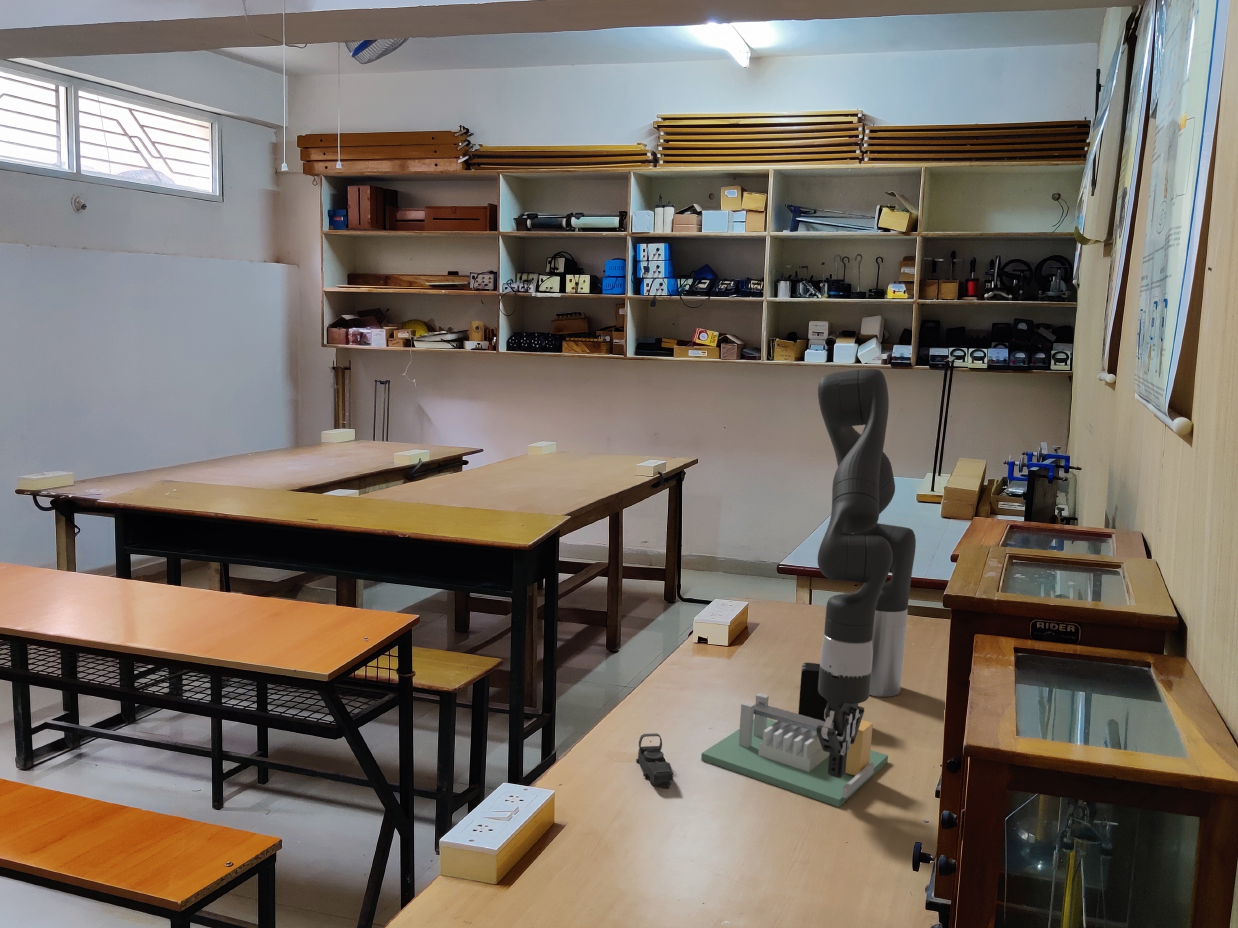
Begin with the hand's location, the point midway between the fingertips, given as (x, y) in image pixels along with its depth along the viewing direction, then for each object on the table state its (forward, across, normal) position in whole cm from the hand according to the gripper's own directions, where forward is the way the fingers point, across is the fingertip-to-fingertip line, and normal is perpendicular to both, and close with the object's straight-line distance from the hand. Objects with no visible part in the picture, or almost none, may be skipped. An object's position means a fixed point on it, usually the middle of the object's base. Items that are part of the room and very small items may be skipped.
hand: (836, 774), depth 149 cm
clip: (+2, -9, -2) cm, 9 cm away
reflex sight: (+4, +11, -25) cm, 28 cm away
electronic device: (+4, -27, -13) cm, 31 cm away
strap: (-3, -8, -11) cm, 14 cm away
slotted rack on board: (+4, -8, -10) cm, 14 cm away
